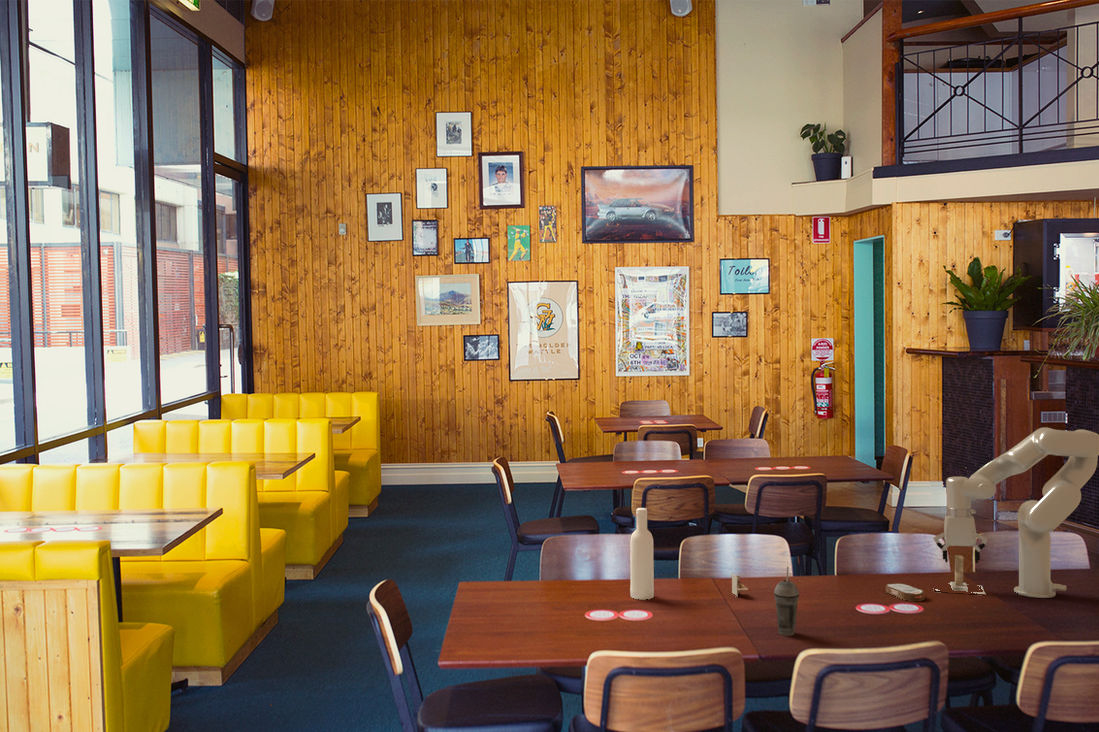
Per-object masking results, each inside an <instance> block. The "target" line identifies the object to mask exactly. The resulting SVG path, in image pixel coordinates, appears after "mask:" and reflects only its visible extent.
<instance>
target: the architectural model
mask: <svg viewBox="0 0 1099 732" xmlns="http://www.w3.org/2000/svg"><path fill="white" fill-rule="evenodd" d="M740 577H741V575H739V574H738V575H735V574H734V573H731V594H732V593H733V594H735V595H736V596H737V597H738V596H739V595H740V594H741V591H748V590H749V589H748V587H747V586H746V585H744V584H743V583H742V582H741V581H740V579H741V578H740ZM733 594H732V595H733ZM738 594H739V595H738ZM736 596H735V597H736ZM737 597H736V598H737ZM738 598H739V597H738Z"/></svg>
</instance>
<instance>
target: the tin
mask: <svg viewBox="0 0 1099 732" xmlns="http://www.w3.org/2000/svg"><path fill="white" fill-rule="evenodd" d="M885 591H886V592H887V593H889V594H891V595H894V596H896V597H895V598H897V597H898V598H897V599H899V598H900V599H899V600H902V599H903V600H902V601H906V600H908V602H922V600H923V601H924V600H925V592H924V590H922V589H920V588H918V587H915V586H912V585H909V584H906V583H899V582H896V583H887V584H885ZM886 592H885V593H886ZM887 593H886V594H887ZM889 594H888V595H889ZM891 595H890V596H891ZM894 596H893V597H894Z"/></svg>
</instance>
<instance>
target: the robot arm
mask: <svg viewBox="0 0 1099 732" xmlns="http://www.w3.org/2000/svg"><path fill="white" fill-rule="evenodd" d="M1048 455H1051V456H1060V457H1068V459H1067V461H1066V462H1065V463H1064V465H1063V466H1062V467H1061V468H1060V469H1059V470H1058V471H1057V472H1056V473H1055V474H1054V475H1053V476H1052V477H1051V478H1050V479H1049V480H1048V481H1047V482H1046V483H1045V484H1044V485H1043V488H1042V491H1041V492H1042V496H1043V497H1042V498H1040V500H1035V499H1031V500H1026V501H1025V502H1023V503H1022V504H1021V505H1020V506H1019V508H1018V511H1017V525H1018V586H1015V587H1014V588H1013V591H1014V593H1015V592H1016V593H1015V594H1017V593H1018V594H1017V595H1019V596H1024V597H1029V598H1039V599H1046V598H1047V599H1049V598H1054V597H1056V591H1059V592H1060V591H1062V592H1066V591H1067V585H1066V584H1065V585H1064V584H1060V583H1053V581H1052V580H1051V549H1052V547H1051V532H1053V531H1054V530H1055V529H1056V528H1058V527H1059V526H1060V525H1061V524H1062V523H1063V522H1064V521H1065V520H1066V519H1067V518H1068V517H1069V516H1070V515H1071V514H1073V512H1074V511H1075V510H1076V508H1078V506H1079V504H1080V502H1081V500H1082V492H1081V489H1082V488H1083V487H1084V485H1086V484H1087V482H1088V481H1089V480H1090V479H1091V478H1092V476H1093V475H1094V473H1095V472H1096V469H1097V467H1098V456H1099V434H1098V433H1096V432H1093V431H1091V430H1086V429H1076V430H1062V429H1054V428H1051V427H1040V428H1037V429H1035V431H1033V432H1032V433H1030V434H1029V435H1028V436H1026V437H1025V438H1023V440H1022V441H1020V442H1018V443H1017V444H1016V445H1015V446H1013V447H1012V448H1010V449H1009V450H1007V451H1006V452H1005V453H1002V454H1000V455H999V456H998V457H996V458H994V459H993V460H991V461H990V462H988V463H987V464H986V463H985V465H983V466H982V467H981V468H979V469H978V470H977V471H975V472H974V473H973V474H971V475H970V477H969V478H968V477H966V476H950V477H947V478H946V481H945V486H946V488H945V490H946V504H947V505H946V508H947V509H946V510H947V512H946V513H947V515H945V517H944V522H943V523H944V525H943V532H941V533H940V534H937V535H935V536H933V541H934V542H935V543H936V544H935V545H936V546H937V547H939V549H941V550H942V560H944V561H945V563H948V560H949V559H948V557H949V556H948V550H947V549H948V548H949V547H972V548H974V562H975V564H979V561H981V551H982V550H983V549H984V548H985V547H986V545H987V543H988V541H989V539H988V538H987V537H986V536H984V535H982V534H979V533H977V530H976V524H975V519H974V516H973V515H974V514H976V513H977V510H976V509H974V508H972V505H971V504H972V503H971V501H972V500H971V499H976V500H977V499H978V500H988V499H991V498H993V497H994V495H995V494H996V492H997V488H996V485H997V484H999V483H1000V482H1002V481H1003V480H1005V479H1007V478H1009V477H1012V476H1015V475H1020V474H1023V473H1025V472H1027V471H1028V470H1030V469H1031V468H1032V467H1033V466H1034V465H1036V464H1038V463H1039V462H1040V461H1041V460H1043V459H1044V458H1046V457H1047V456H1048ZM942 538H943V540H944V543H943V544H942V543H941V542H940V540H941V539H942ZM977 539H979V540H981V543H980V544H977Z"/></svg>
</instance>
